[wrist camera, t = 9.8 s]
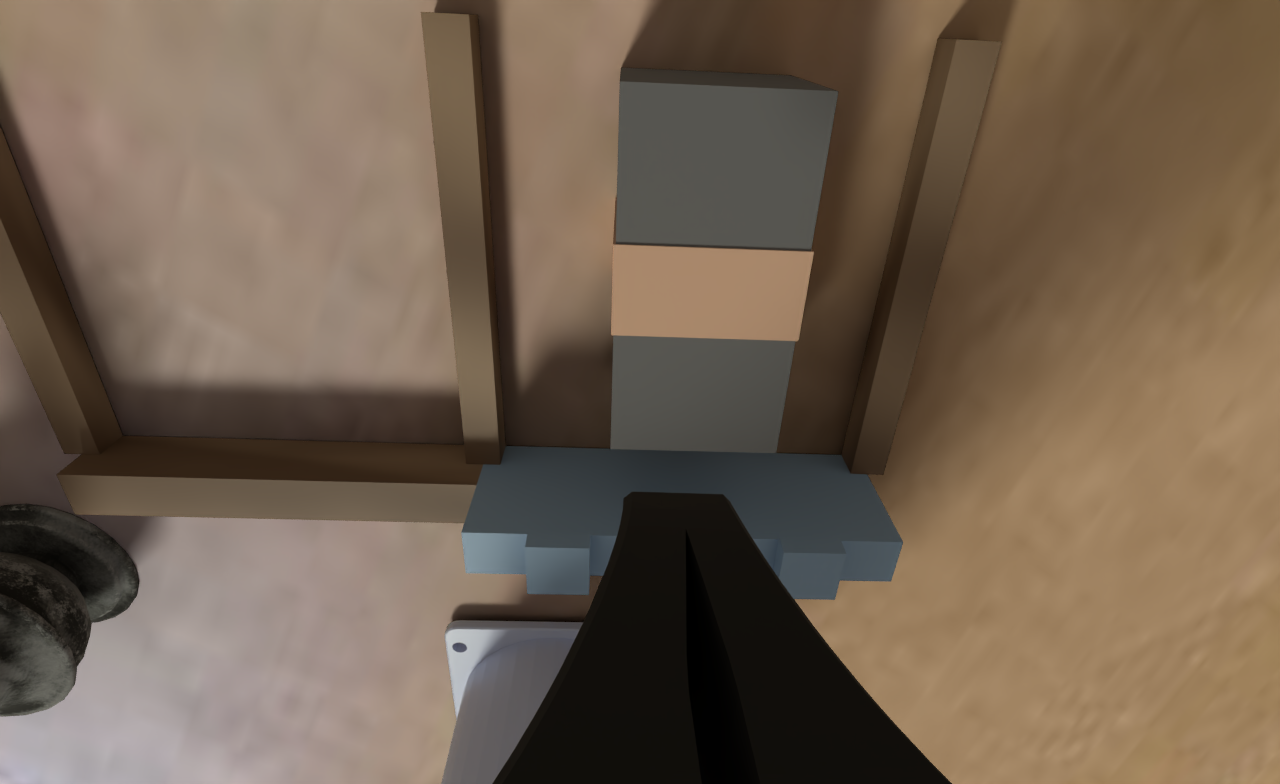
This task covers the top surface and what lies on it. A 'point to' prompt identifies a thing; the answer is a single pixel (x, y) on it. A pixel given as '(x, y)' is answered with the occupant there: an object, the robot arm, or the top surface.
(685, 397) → the grey and tan block
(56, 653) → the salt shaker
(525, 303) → the top surface
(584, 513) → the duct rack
